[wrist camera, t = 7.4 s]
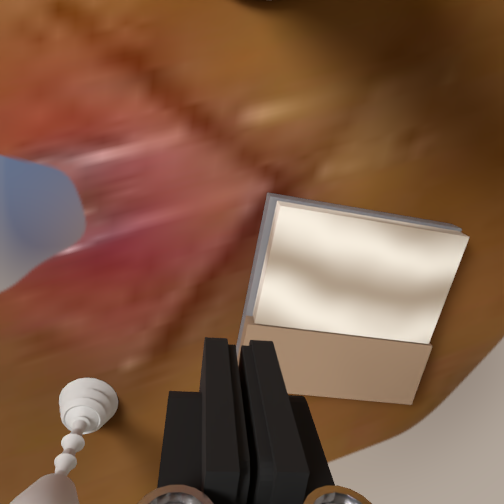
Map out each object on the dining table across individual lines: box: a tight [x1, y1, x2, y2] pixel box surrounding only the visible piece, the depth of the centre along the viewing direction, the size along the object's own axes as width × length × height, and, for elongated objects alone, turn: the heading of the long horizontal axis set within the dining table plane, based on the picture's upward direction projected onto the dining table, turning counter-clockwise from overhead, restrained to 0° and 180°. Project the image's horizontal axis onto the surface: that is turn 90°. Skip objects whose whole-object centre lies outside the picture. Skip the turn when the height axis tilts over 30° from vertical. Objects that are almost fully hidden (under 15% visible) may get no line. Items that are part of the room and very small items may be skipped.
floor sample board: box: [236, 193, 462, 405], centre depth 35 cm, size 16×16×3 cm
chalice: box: [10, 378, 118, 504], centre depth 29 cm, size 7×7×18 cm
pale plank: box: [253, 201, 469, 344], centre depth 34 cm, size 10×15×2 cm, turn 79°
